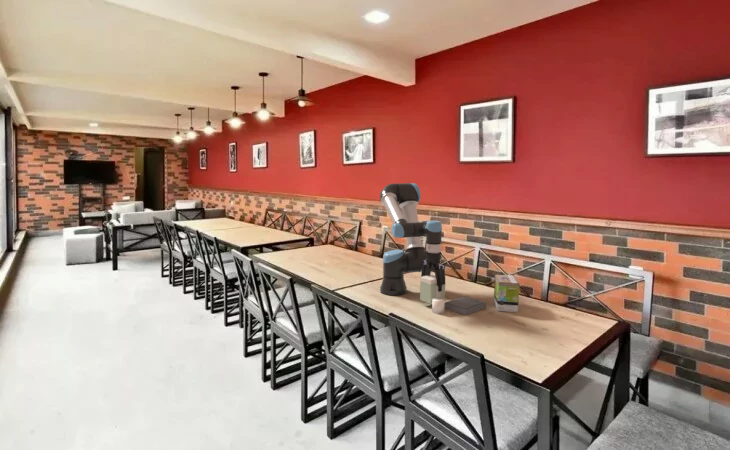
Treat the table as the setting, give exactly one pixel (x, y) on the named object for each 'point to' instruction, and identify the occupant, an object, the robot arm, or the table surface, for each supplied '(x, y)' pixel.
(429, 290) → the carton
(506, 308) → the tea box
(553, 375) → the table surface
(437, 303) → the cream rounded domed part
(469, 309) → the podium
